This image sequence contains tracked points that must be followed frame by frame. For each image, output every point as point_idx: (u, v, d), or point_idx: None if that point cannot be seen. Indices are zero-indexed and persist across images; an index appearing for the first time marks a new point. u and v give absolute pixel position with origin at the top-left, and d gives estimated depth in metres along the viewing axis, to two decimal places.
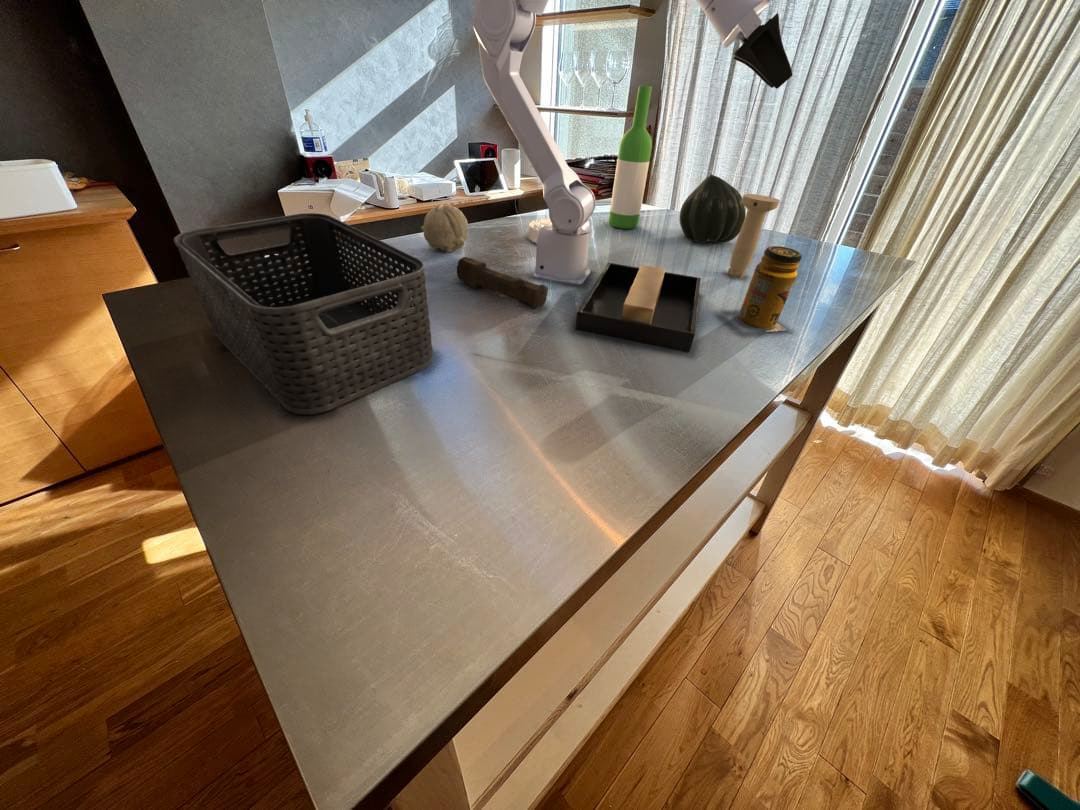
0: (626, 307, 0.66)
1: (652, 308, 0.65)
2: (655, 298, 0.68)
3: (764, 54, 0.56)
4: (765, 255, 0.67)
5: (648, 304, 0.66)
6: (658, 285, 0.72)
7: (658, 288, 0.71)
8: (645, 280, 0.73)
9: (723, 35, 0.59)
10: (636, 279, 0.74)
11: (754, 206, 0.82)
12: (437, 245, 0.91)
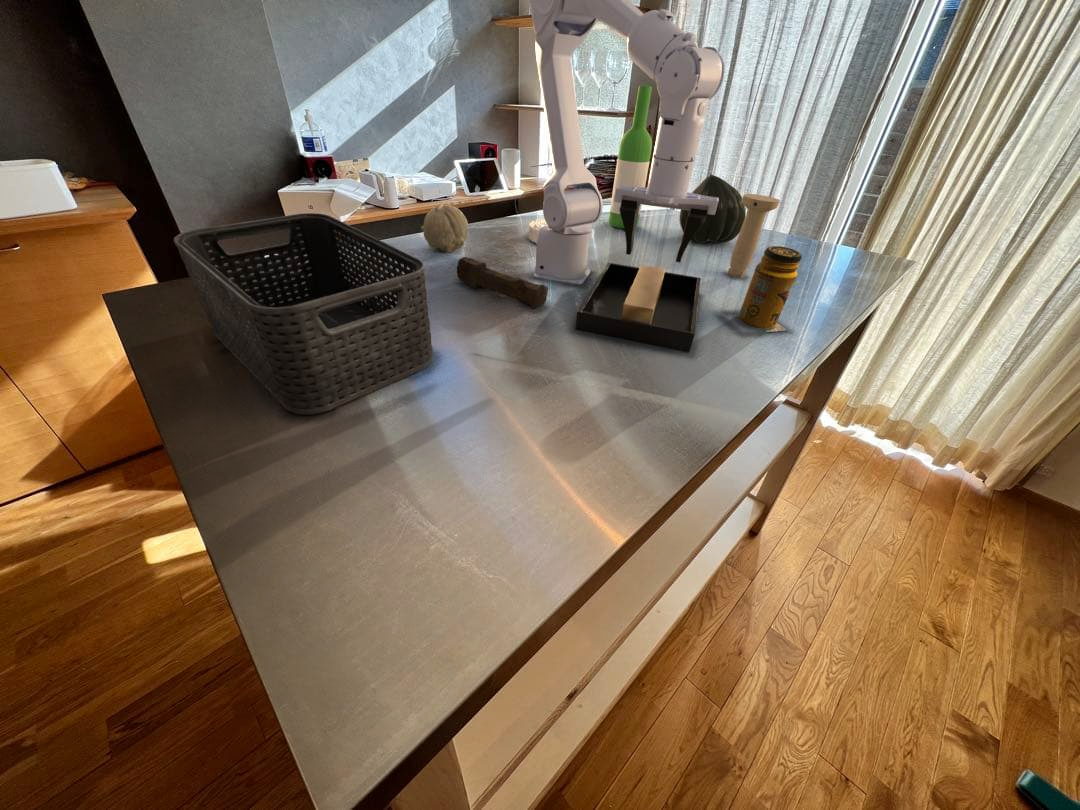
0: (626, 307, 0.66)
1: (652, 308, 0.65)
2: (655, 298, 0.68)
3: None
4: (765, 255, 0.67)
5: (648, 304, 0.66)
6: (658, 285, 0.72)
7: (658, 288, 0.71)
8: (645, 280, 0.73)
9: None
10: (636, 279, 0.74)
11: (754, 206, 0.82)
12: (437, 245, 0.91)
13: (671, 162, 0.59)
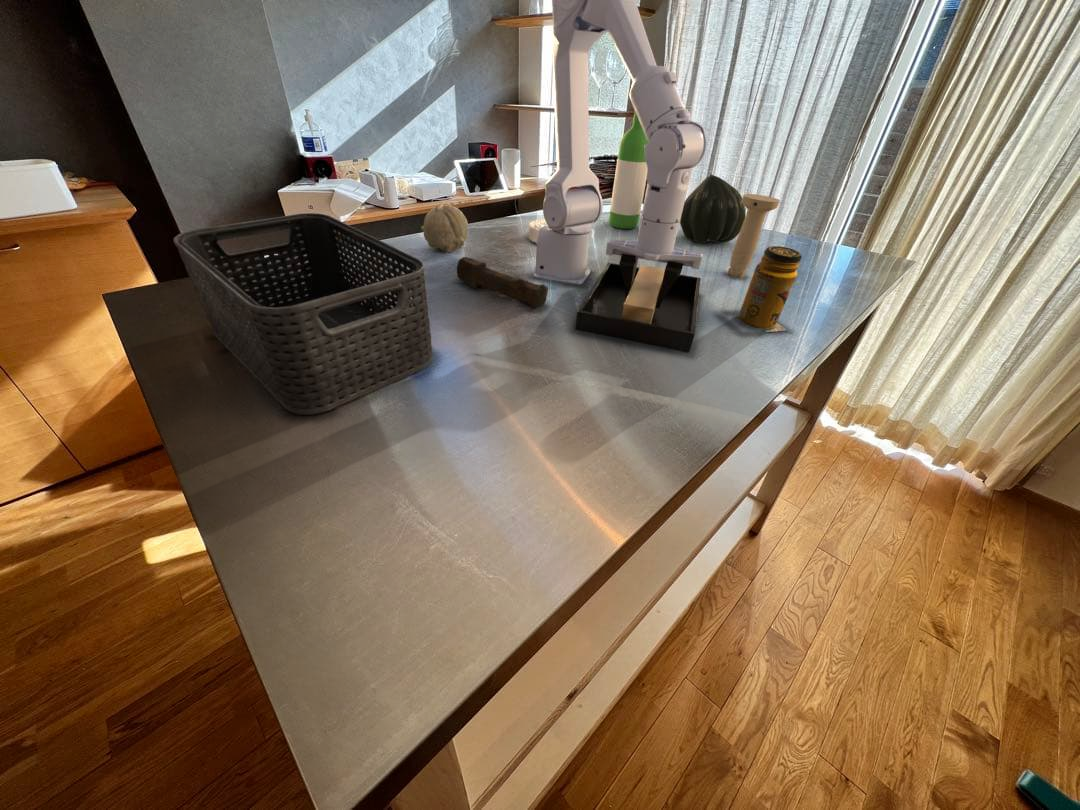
0: (626, 307, 0.66)
1: (652, 308, 0.65)
2: (655, 298, 0.68)
3: None
4: (765, 255, 0.67)
5: (648, 304, 0.66)
6: (658, 285, 0.72)
7: (658, 288, 0.71)
8: (645, 280, 0.73)
9: None
10: (636, 279, 0.74)
11: (754, 206, 0.82)
12: (437, 245, 0.91)
13: (657, 223, 0.64)
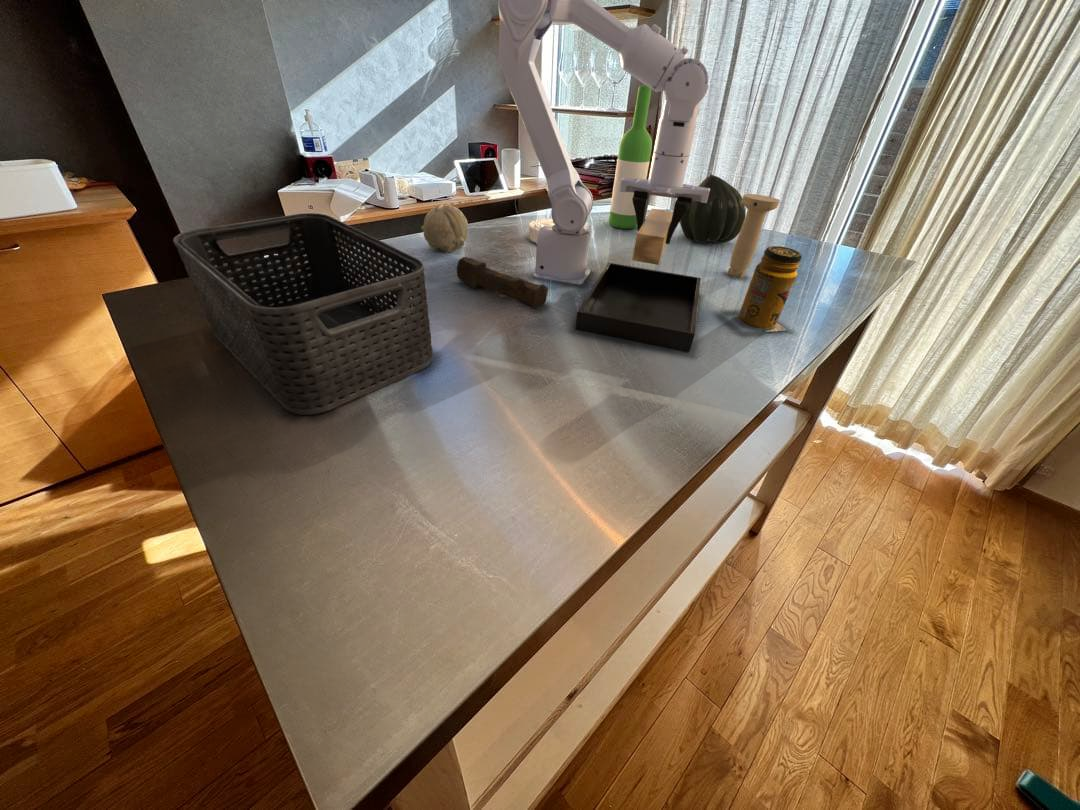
0: (639, 237, 0.71)
1: (663, 237, 0.70)
2: (666, 230, 0.73)
3: None
4: (765, 255, 0.67)
5: (659, 234, 0.71)
6: (668, 222, 0.77)
7: (668, 224, 0.76)
8: (656, 219, 0.78)
9: None
10: (647, 217, 0.79)
11: (754, 206, 0.82)
12: (437, 245, 0.91)
13: (669, 157, 0.69)
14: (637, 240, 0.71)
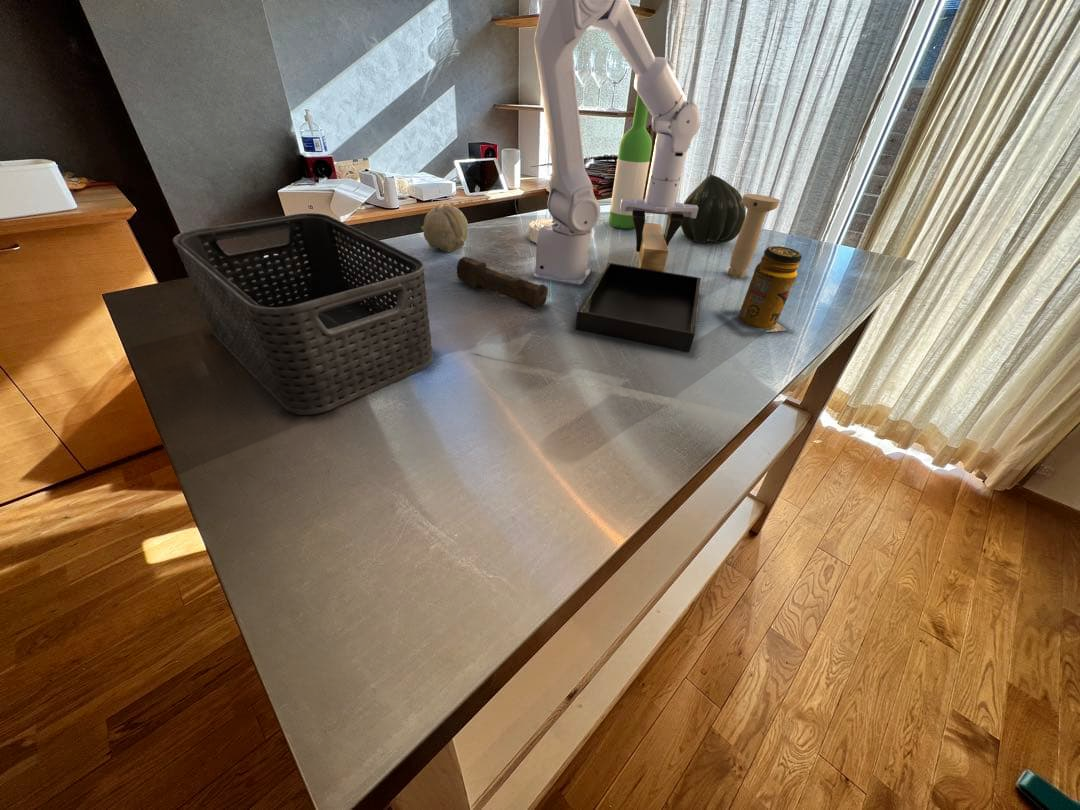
0: (646, 251, 0.82)
1: (667, 250, 0.81)
2: (665, 243, 0.84)
3: None
4: (765, 255, 0.67)
5: (662, 247, 0.82)
6: (662, 235, 0.89)
7: (663, 237, 0.88)
8: (650, 232, 0.90)
9: None
10: (643, 232, 0.90)
11: (754, 206, 0.82)
12: (437, 245, 0.91)
13: (665, 181, 0.80)
14: (644, 254, 0.82)
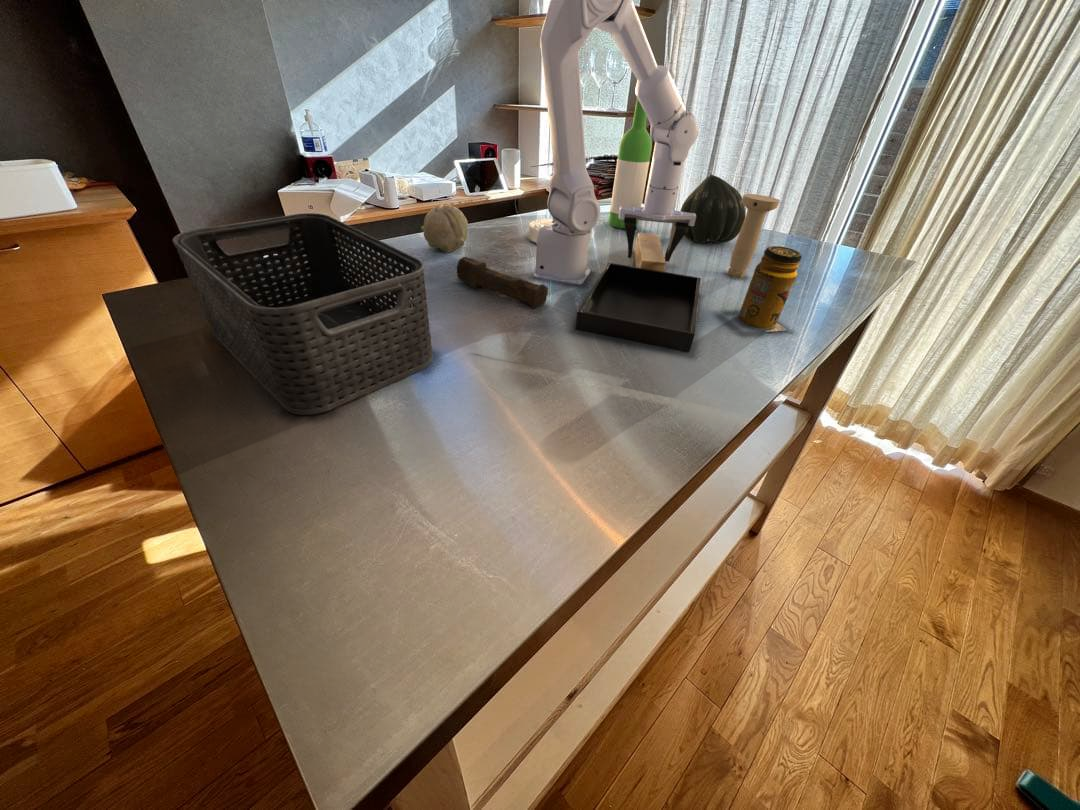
0: (643, 263, 0.83)
1: (664, 262, 0.82)
2: (662, 255, 0.86)
3: None
4: (765, 255, 0.67)
5: (660, 259, 0.83)
6: (659, 246, 0.90)
7: (660, 248, 0.89)
8: (648, 243, 0.91)
9: None
10: (640, 243, 0.91)
11: (754, 206, 0.82)
12: (437, 245, 0.91)
13: (663, 190, 0.81)
14: (642, 266, 0.83)
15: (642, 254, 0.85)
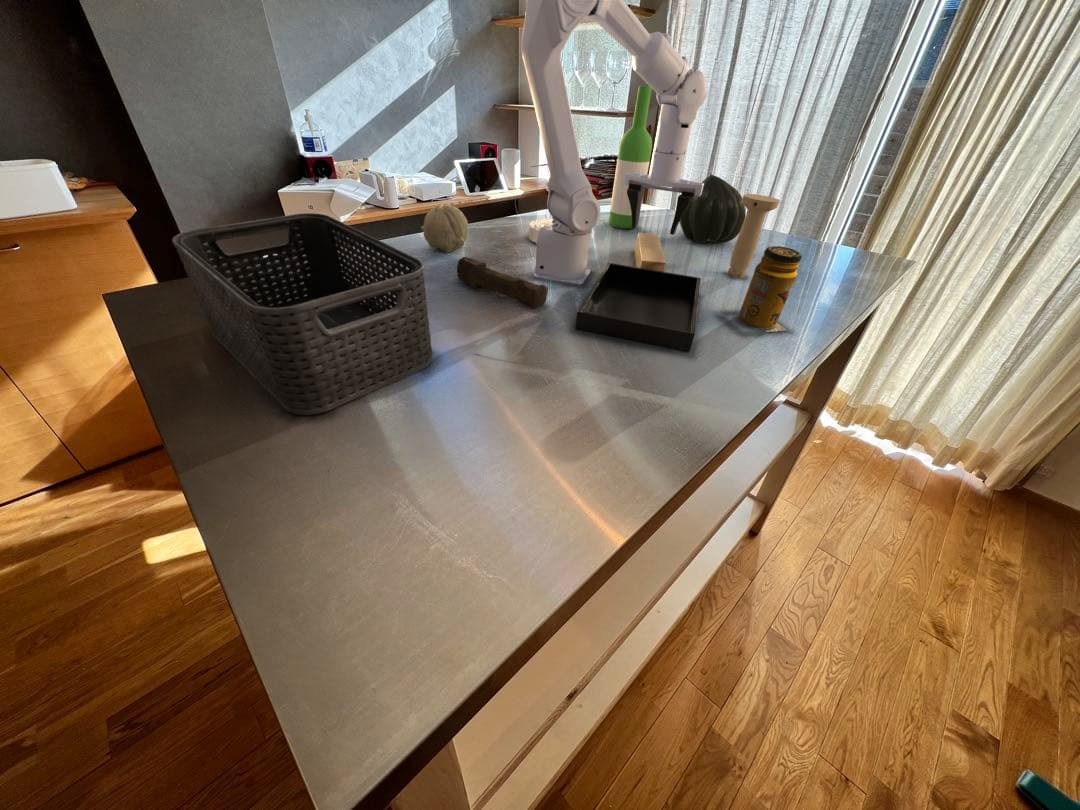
0: (643, 263, 0.83)
1: (664, 262, 0.82)
2: (662, 255, 0.86)
3: None
4: (765, 255, 0.67)
5: (660, 259, 0.83)
6: (659, 246, 0.90)
7: (660, 248, 0.89)
8: (648, 243, 0.91)
9: (668, 178, 0.80)
10: (640, 243, 0.91)
11: (754, 206, 0.82)
12: (437, 245, 0.91)
13: None
14: (642, 266, 0.83)
15: (642, 254, 0.85)
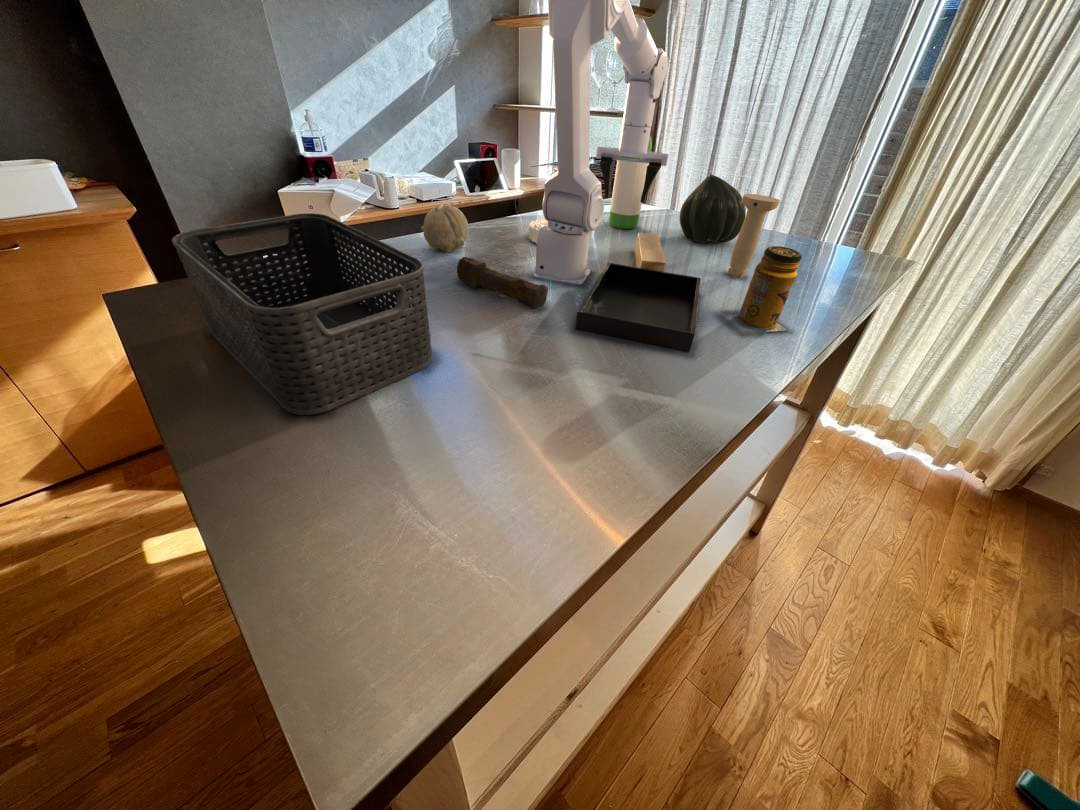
0: (643, 263, 0.83)
1: (664, 262, 0.82)
2: (662, 255, 0.86)
3: None
4: (765, 255, 0.67)
5: (660, 259, 0.83)
6: (659, 246, 0.90)
7: (660, 248, 0.89)
8: (648, 243, 0.91)
9: (637, 149, 0.87)
10: (640, 243, 0.91)
11: (754, 206, 0.82)
12: (437, 245, 0.91)
13: None
14: (642, 266, 0.83)
15: (642, 254, 0.85)
